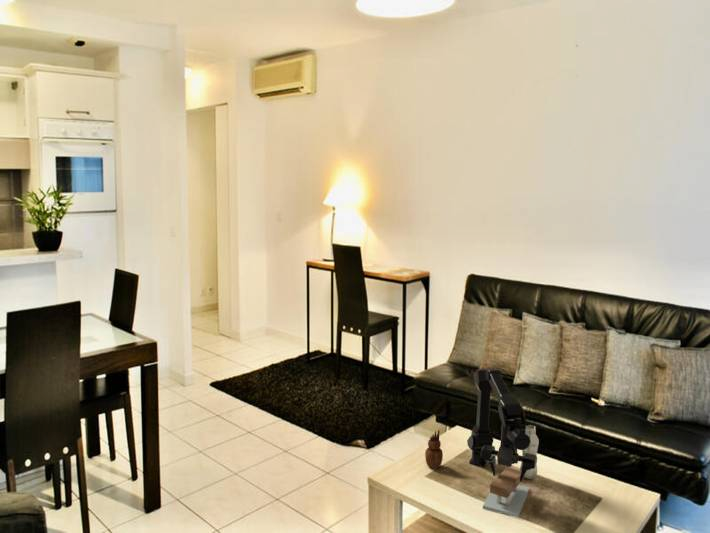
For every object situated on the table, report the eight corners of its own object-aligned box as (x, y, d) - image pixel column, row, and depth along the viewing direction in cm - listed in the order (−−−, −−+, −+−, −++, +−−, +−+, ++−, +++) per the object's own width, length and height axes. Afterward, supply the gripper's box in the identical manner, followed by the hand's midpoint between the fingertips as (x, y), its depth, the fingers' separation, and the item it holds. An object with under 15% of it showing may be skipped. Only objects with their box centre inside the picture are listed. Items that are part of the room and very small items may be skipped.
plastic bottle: (518, 479, 217) (521, 429, 214) (520, 471, 223) (523, 422, 220) (536, 482, 214) (539, 431, 212) (537, 474, 220) (540, 425, 218)
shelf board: (507, 474, 210) (507, 466, 210) (523, 479, 206) (523, 471, 206) (489, 492, 197) (490, 484, 197) (506, 498, 194) (506, 489, 193)
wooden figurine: (441, 463, 229) (442, 427, 227) (442, 470, 223) (443, 433, 221) (424, 462, 229) (425, 426, 227) (425, 469, 224) (426, 433, 222)
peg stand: (496, 482, 214) (496, 469, 213) (529, 490, 209) (529, 477, 208) (482, 508, 196) (483, 494, 196) (518, 517, 191) (519, 503, 190)
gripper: (477, 440, 197) (475, 483, 199) (532, 452, 188) (530, 496, 190) (485, 428, 206) (483, 469, 208) (538, 439, 198) (536, 481, 200)
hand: (507, 479), depth 202 cm, fingers open, 9 cm apart
